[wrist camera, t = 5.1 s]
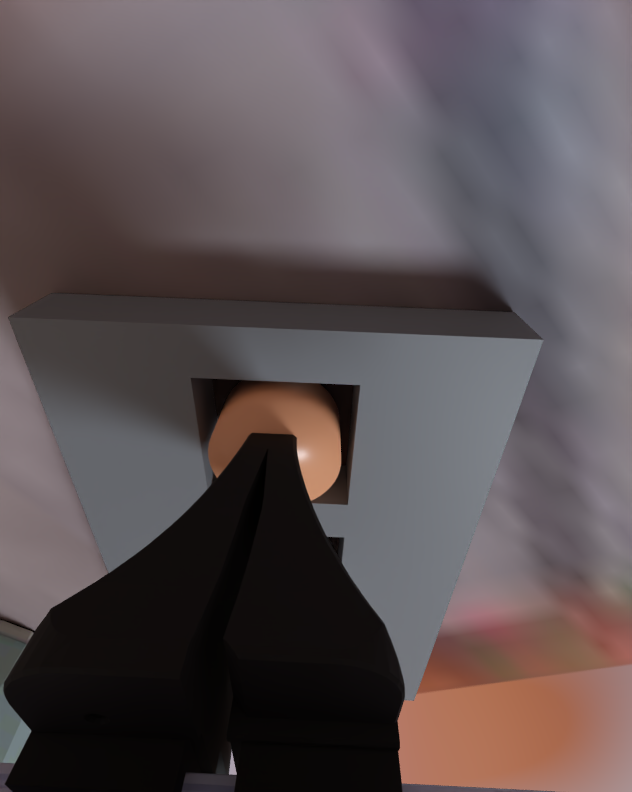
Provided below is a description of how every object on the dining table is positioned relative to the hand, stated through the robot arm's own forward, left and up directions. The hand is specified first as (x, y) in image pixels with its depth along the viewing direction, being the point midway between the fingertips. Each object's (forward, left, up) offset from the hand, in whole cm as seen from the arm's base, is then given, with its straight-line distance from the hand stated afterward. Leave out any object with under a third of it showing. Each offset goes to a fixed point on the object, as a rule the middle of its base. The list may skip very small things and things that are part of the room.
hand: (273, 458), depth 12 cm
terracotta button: (0, 0, -2) cm, 2 cm away
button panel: (0, +6, -2) cm, 7 cm away
